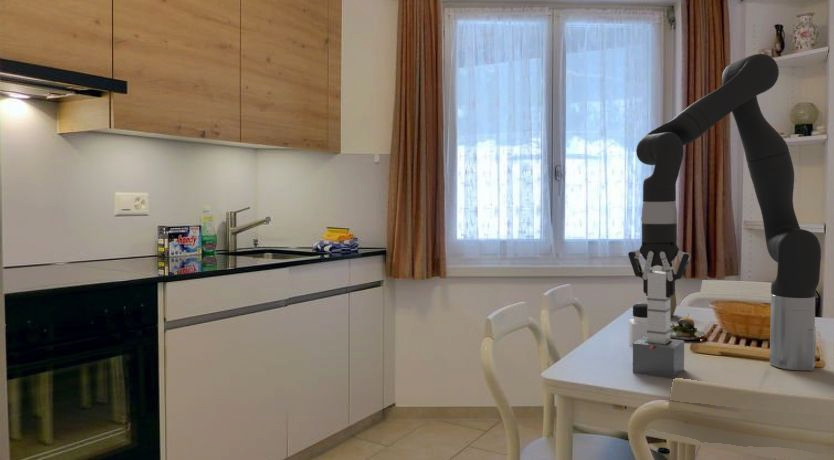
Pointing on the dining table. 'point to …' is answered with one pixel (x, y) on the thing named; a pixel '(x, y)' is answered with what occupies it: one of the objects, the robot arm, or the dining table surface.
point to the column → (658, 309)
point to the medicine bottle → (638, 323)
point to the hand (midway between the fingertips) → (658, 295)
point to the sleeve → (658, 358)
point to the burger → (686, 330)
